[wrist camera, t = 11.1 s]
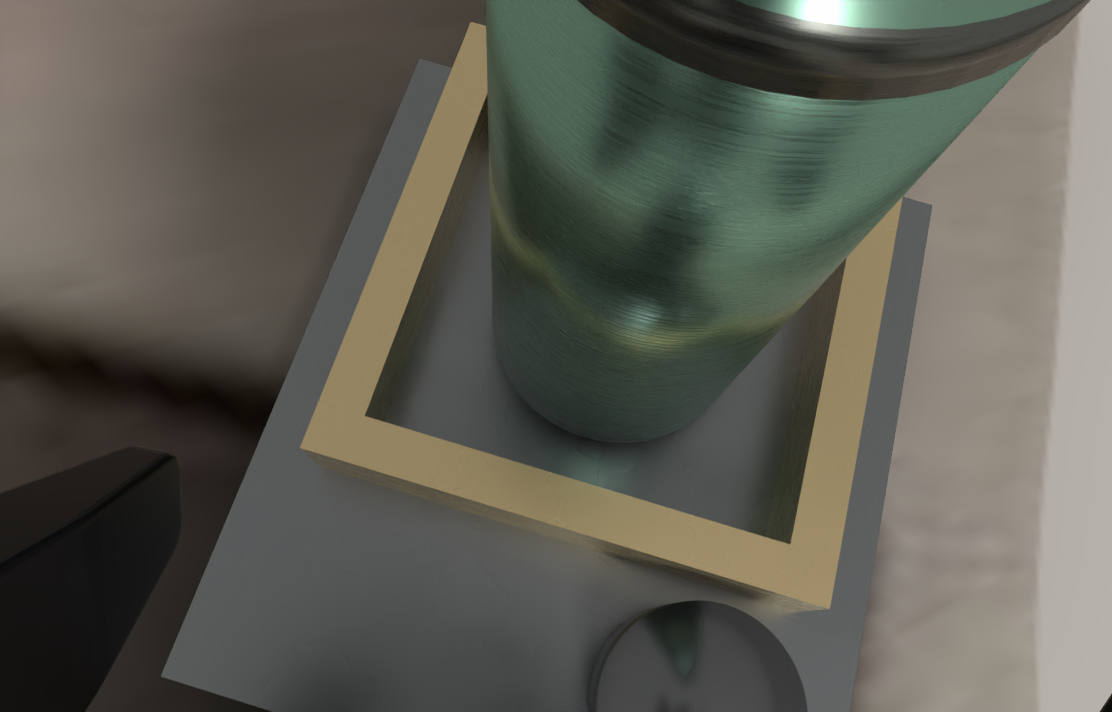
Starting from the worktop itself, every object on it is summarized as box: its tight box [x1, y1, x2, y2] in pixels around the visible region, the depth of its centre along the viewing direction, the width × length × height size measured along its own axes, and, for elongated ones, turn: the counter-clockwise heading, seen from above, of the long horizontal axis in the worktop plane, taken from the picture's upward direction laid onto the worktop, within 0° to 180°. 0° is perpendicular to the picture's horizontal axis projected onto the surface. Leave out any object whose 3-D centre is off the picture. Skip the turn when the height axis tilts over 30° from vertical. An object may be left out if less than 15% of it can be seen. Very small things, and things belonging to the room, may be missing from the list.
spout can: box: [485, 0, 1090, 443], centre depth 14 cm, size 10×6×14 cm, turn 169°
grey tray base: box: [161, 22, 932, 712], centre depth 20 cm, size 16×14×4 cm
